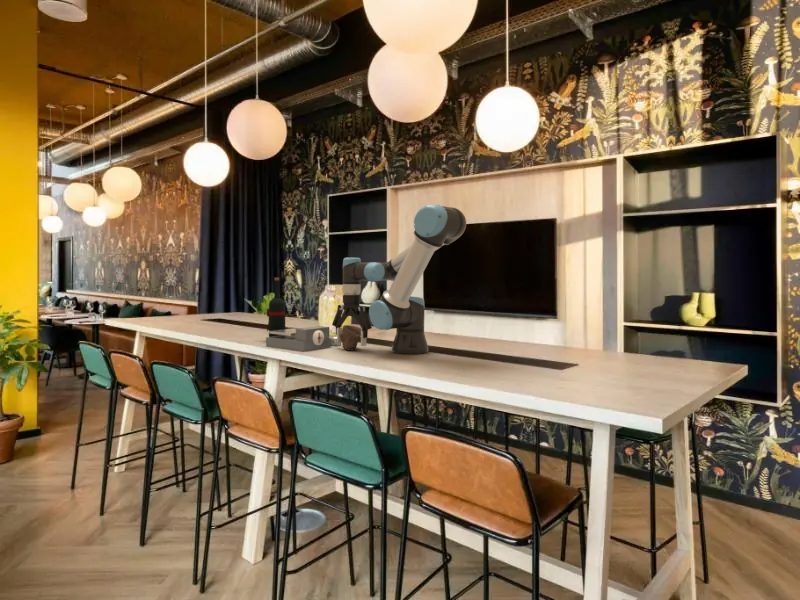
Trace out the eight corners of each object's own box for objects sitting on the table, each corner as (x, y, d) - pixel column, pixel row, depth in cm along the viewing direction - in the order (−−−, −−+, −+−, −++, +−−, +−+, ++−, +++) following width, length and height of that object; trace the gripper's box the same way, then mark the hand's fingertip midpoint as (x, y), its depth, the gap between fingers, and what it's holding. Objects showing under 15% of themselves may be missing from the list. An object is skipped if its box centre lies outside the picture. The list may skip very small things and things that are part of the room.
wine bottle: (274, 339, 260) (273, 277, 258) (289, 341, 255) (289, 277, 253) (261, 341, 254) (261, 277, 252) (277, 343, 248) (276, 277, 246)
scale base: (332, 347, 236) (332, 327, 236) (305, 351, 223) (305, 330, 223) (293, 342, 251) (293, 323, 251) (266, 346, 238) (265, 326, 238)
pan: (314, 335, 241) (314, 330, 241) (290, 338, 230) (290, 333, 230) (293, 332, 249) (293, 328, 249) (269, 335, 238) (269, 331, 238)
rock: (366, 340, 223) (346, 327, 221) (351, 359, 225) (332, 347, 223) (365, 330, 235) (346, 317, 233) (351, 348, 237) (332, 336, 235)
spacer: (343, 345, 243) (343, 336, 242) (335, 346, 239) (335, 337, 238) (335, 344, 246) (335, 335, 245) (327, 345, 242) (327, 337, 241)
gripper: (380, 295, 224) (379, 346, 225) (336, 292, 239) (335, 340, 240) (368, 295, 218) (368, 348, 219) (324, 293, 233) (324, 342, 234)
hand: (351, 344), depth 230 cm, fingers open, 13 cm apart
